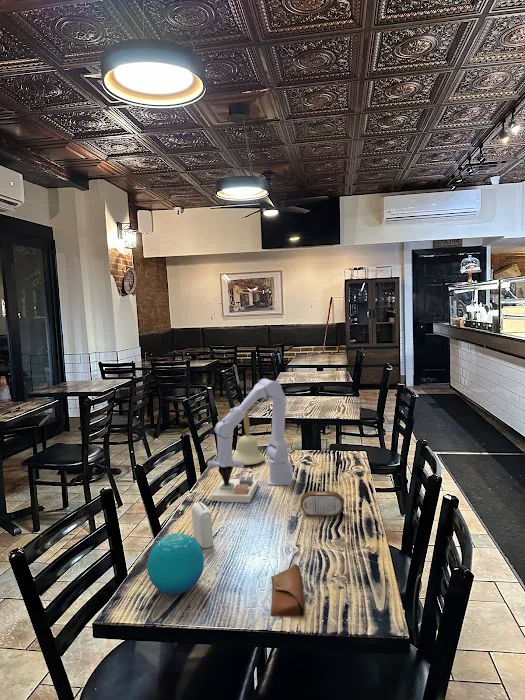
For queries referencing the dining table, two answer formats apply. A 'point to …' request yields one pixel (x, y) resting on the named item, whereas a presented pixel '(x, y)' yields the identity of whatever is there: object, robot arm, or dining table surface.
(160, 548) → the decorative orb
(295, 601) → the sunglasses case
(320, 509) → the tin
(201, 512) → the photo printer
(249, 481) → the key one
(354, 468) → the dining table surface
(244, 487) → the key two
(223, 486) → the key three
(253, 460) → the handbell
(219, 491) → the key panel
